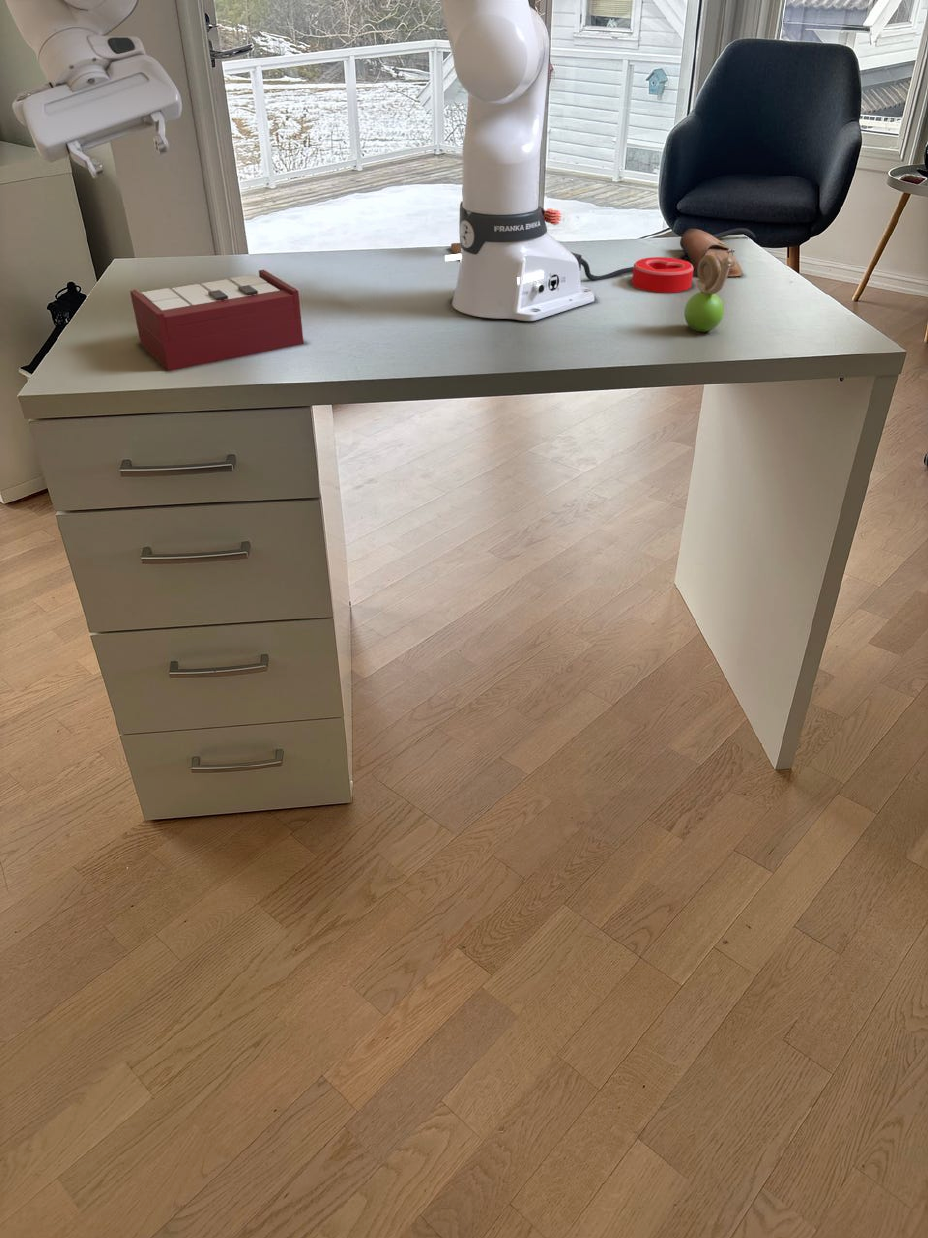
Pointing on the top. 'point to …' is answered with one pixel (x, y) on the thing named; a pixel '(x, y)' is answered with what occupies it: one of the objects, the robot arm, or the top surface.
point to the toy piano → (219, 321)
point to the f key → (159, 295)
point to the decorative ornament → (662, 275)
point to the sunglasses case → (707, 249)
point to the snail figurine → (708, 294)
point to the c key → (247, 280)
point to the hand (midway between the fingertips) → (132, 162)
